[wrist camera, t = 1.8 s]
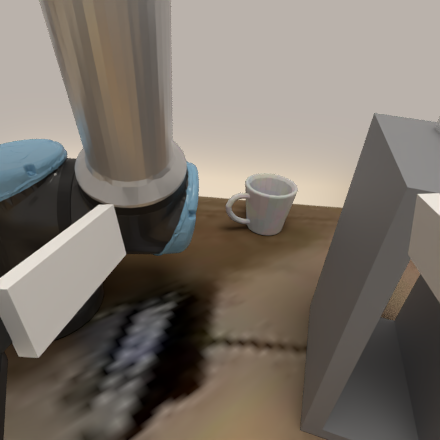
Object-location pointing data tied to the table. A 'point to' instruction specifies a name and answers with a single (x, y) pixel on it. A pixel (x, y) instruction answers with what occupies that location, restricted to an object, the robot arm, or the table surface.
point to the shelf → (376, 300)
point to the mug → (265, 203)
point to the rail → (438, 126)
